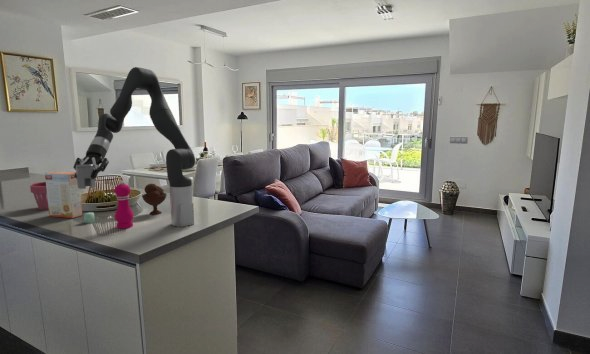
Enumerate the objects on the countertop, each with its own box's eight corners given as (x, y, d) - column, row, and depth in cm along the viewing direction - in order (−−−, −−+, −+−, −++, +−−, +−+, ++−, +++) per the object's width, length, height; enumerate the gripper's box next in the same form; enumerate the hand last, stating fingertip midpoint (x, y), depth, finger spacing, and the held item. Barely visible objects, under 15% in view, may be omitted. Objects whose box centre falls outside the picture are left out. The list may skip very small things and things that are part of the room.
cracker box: (83, 215, 163) (79, 172, 159) (72, 218, 157) (67, 174, 154) (60, 213, 166) (56, 170, 163) (48, 216, 161) (44, 172, 157)
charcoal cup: (98, 186, 153) (96, 163, 151) (89, 188, 146) (87, 165, 145) (84, 185, 153) (82, 163, 151) (74, 188, 147) (72, 165, 145)
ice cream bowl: (159, 217, 161) (157, 185, 159) (138, 215, 163) (136, 184, 161) (171, 211, 171) (170, 182, 169) (151, 210, 174) (150, 181, 171)
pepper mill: (129, 223, 151) (126, 178, 148) (137, 226, 147) (134, 180, 144) (112, 226, 146) (108, 180, 143) (120, 230, 141) (116, 182, 138)
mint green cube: (96, 222, 152) (95, 213, 152) (86, 224, 149) (85, 215, 149) (92, 220, 155) (92, 211, 154) (83, 222, 152) (82, 213, 151)
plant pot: (62, 209, 173) (59, 185, 171) (28, 212, 167) (25, 186, 165) (69, 203, 186) (66, 180, 184) (38, 205, 181) (35, 181, 179)
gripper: (78, 143, 155) (63, 172, 145) (110, 143, 155) (96, 173, 145) (87, 153, 161) (72, 182, 151) (117, 154, 161) (104, 183, 151)
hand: (84, 177), depth 148 cm, fingers closed on charcoal cup, 6 cm apart
